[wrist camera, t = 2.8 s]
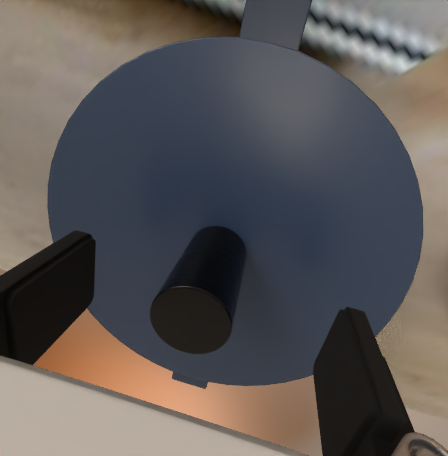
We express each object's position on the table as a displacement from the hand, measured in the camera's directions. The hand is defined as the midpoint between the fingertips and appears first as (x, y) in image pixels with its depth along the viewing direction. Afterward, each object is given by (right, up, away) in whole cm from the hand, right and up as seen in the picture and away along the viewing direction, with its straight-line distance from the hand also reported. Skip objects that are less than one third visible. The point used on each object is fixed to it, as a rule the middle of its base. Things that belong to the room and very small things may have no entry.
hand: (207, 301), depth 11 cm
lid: (0, +2, +4) cm, 4 cm away
